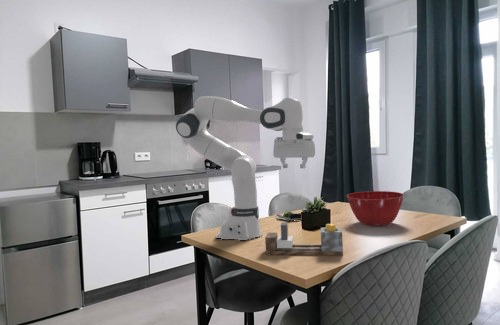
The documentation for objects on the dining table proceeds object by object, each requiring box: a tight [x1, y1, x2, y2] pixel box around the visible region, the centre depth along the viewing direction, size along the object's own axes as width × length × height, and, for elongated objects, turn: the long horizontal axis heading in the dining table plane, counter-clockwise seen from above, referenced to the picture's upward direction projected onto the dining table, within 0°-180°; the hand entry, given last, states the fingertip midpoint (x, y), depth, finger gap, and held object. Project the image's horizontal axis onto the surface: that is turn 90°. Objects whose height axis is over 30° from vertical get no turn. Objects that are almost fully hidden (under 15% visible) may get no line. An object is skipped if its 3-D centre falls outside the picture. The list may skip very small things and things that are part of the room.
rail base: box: [264, 226, 344, 256], centre depth 144 cm, size 30×8×9 cm, turn 80°
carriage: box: [277, 221, 294, 248], centre depth 146 cm, size 6×7×9 cm
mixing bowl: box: [346, 190, 405, 227], centre depth 188 cm, size 28×28×16 cm
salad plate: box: [276, 211, 302, 222], centre depth 212 cm, size 19×18×5 cm
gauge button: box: [325, 223, 337, 231], centre depth 142 cm, size 4×4×4 cm
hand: (293, 168), depth 154 cm, fingers open, 8 cm apart
